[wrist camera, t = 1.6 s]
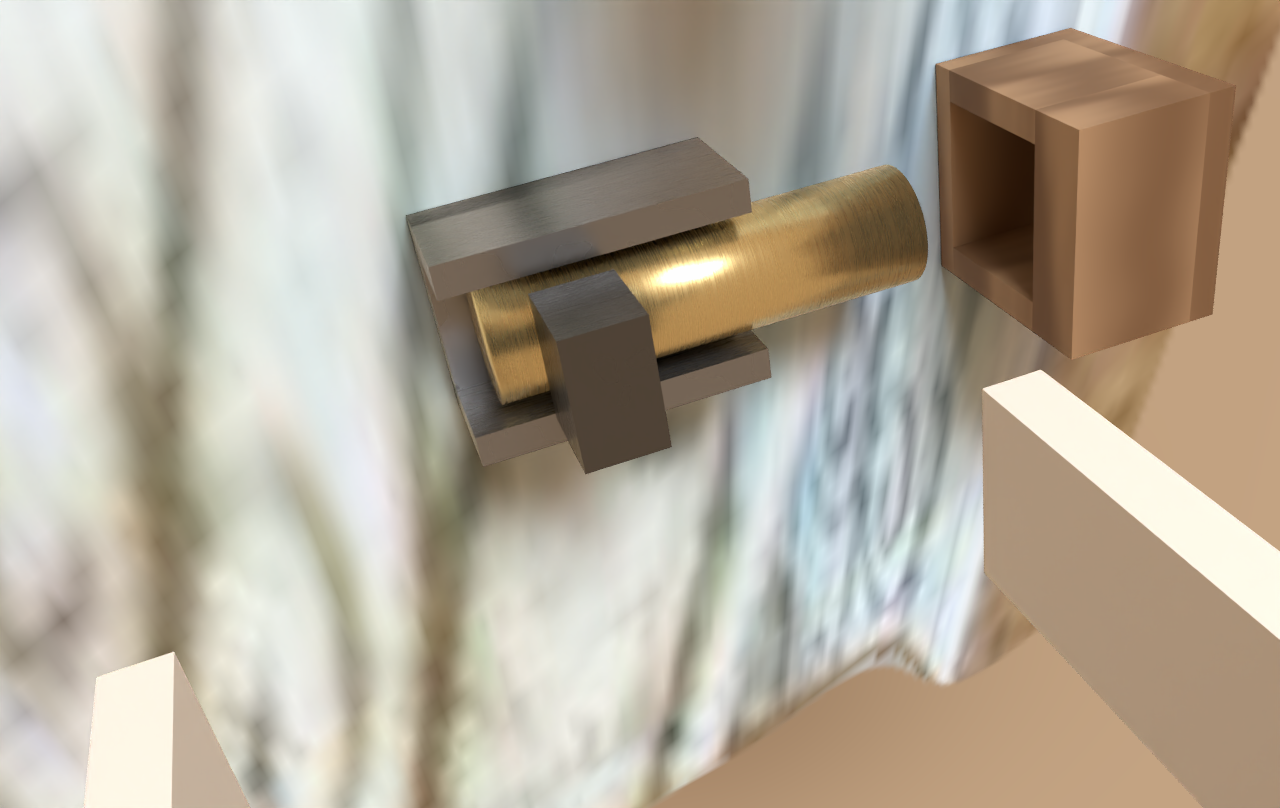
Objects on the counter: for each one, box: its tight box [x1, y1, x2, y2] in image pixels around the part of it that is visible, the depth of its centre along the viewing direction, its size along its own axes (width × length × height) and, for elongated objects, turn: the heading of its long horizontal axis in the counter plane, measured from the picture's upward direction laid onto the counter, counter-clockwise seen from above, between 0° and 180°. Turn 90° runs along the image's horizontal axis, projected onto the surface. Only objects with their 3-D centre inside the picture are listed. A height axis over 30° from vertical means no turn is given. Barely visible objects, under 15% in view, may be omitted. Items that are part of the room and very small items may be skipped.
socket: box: [936, 28, 1236, 360], centre depth 37 cm, size 5×7×7 cm
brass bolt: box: [466, 165, 928, 474], centre depth 35 cm, size 13×4×7 cm, turn 99°
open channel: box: [406, 137, 771, 467], centre depth 36 cm, size 9×6×4 cm
